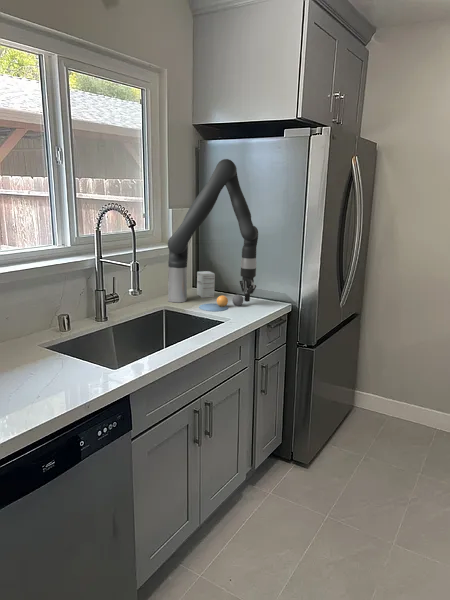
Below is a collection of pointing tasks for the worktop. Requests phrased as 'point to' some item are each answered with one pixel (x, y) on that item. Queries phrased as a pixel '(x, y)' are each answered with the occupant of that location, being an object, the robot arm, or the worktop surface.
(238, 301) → the gray ball
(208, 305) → the blue mark
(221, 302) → the orange ball
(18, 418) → the worktop surface
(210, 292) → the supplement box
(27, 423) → the worktop surface
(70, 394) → the worktop surface
